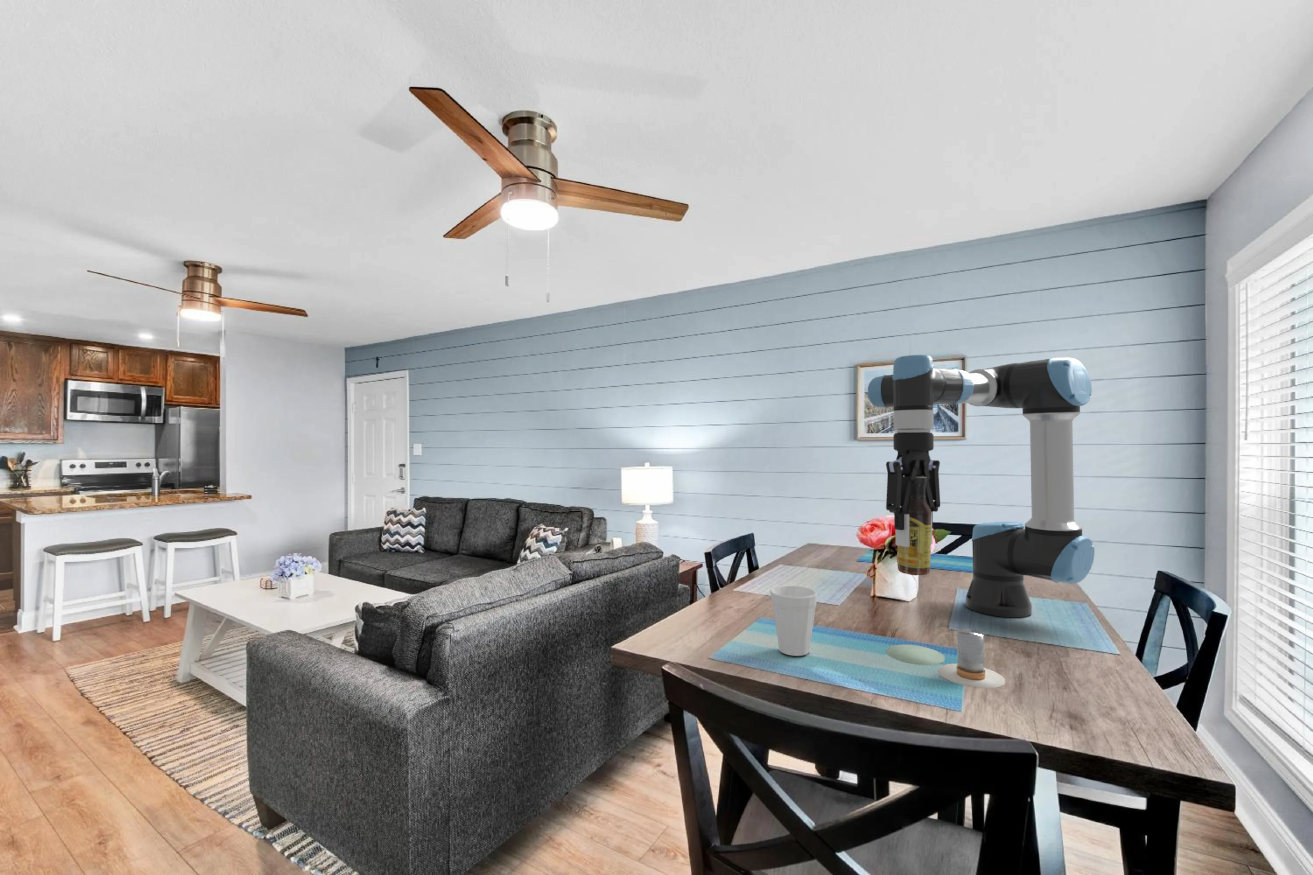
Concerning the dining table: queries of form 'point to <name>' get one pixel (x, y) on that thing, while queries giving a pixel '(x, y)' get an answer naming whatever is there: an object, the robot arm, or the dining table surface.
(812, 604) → the cup
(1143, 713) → the dining table surface
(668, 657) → the dining table surface
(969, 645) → the glass jar
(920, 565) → the sauce bottle
